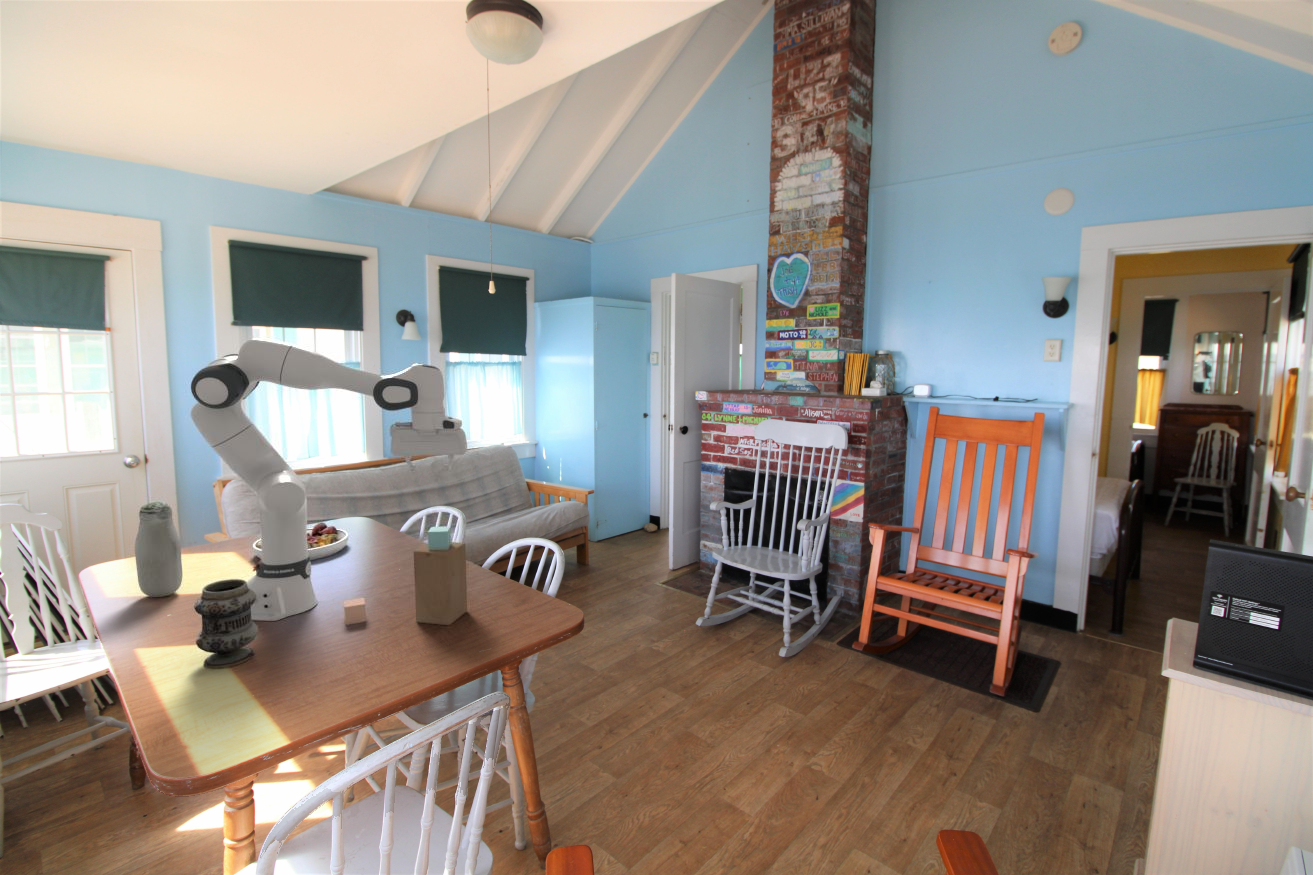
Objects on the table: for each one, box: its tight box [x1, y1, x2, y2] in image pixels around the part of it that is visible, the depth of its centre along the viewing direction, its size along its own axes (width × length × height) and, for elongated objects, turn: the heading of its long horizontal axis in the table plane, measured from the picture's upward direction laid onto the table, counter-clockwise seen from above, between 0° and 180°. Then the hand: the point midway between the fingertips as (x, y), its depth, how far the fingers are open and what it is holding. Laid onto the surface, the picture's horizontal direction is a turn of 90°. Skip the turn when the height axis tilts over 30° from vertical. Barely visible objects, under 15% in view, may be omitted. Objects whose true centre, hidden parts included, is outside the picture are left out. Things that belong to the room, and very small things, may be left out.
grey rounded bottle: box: [134, 501, 183, 598], centre depth 180 cm, size 10×10×28 cm
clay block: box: [343, 597, 367, 626], centre depth 166 cm, size 5×5×5 cm
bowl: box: [252, 522, 349, 561], centre depth 223 cm, size 30×30×8 cm
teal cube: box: [427, 525, 452, 550], centre depth 166 cm, size 5×5×5 cm
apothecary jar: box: [193, 578, 259, 669], centre depth 143 cm, size 12×12×18 cm
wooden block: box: [413, 541, 468, 626], centre depth 168 cm, size 10×10×20 cm
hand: (430, 470), depth 174 cm, fingers open, 8 cm apart
